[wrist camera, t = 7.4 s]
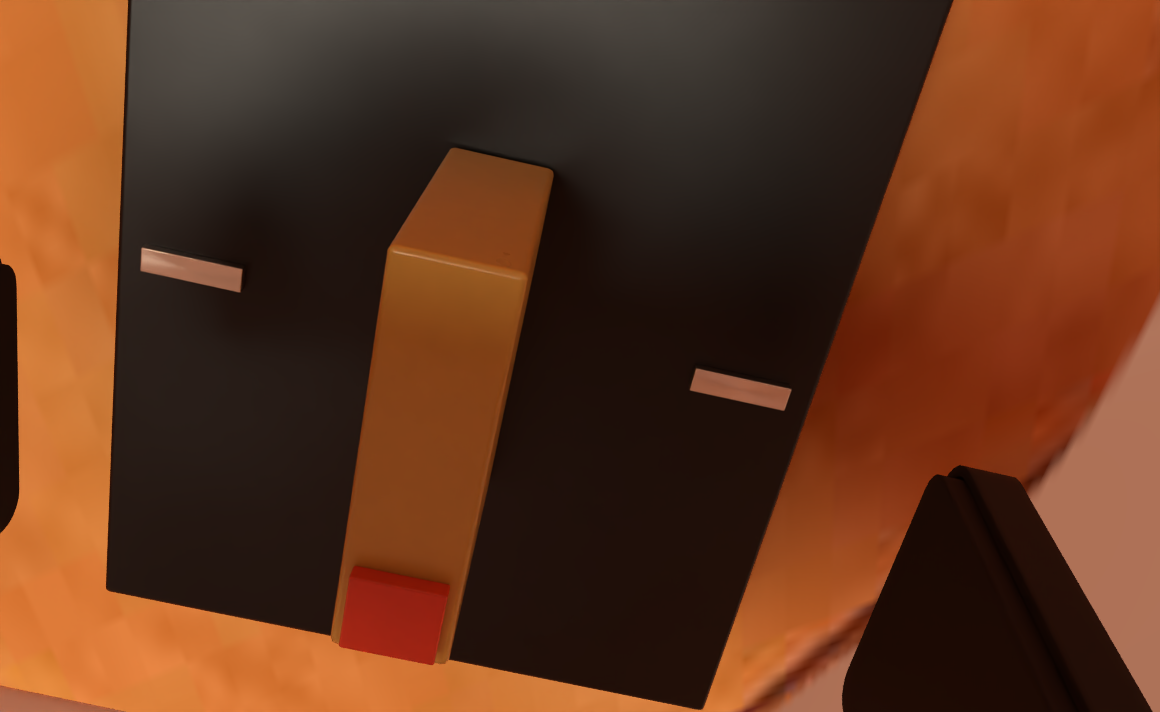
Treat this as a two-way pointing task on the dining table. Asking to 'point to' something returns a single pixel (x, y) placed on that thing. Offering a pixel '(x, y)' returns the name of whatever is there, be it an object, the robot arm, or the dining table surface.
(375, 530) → the thumbturn
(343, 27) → the plate
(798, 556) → the dining table surface
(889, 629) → the robot arm
